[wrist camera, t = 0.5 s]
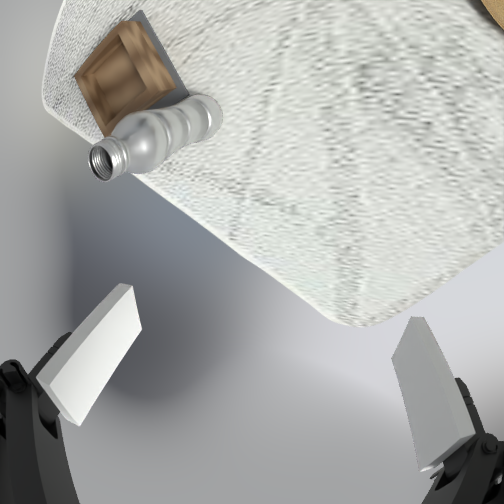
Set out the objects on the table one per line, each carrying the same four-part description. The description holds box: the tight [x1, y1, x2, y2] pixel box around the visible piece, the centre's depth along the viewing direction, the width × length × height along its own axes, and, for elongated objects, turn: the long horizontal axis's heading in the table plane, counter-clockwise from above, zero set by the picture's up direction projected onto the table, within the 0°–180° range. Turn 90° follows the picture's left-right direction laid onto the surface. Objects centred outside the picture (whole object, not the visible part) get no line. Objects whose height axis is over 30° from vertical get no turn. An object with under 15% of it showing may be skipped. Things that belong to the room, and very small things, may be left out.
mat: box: [129, 10, 189, 110], centre depth 33 cm, size 18×16×1 cm
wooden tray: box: [74, 21, 177, 138], centre depth 32 cm, size 14×14×4 cm
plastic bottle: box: [88, 95, 223, 182], centre depth 27 cm, size 6×7×20 cm
